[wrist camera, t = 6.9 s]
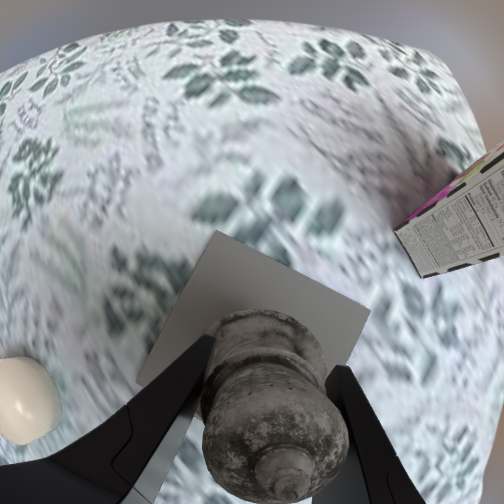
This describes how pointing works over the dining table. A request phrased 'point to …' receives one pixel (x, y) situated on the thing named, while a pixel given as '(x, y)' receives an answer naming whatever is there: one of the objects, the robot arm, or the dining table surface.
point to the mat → (253, 304)
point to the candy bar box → (459, 220)
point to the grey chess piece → (269, 410)
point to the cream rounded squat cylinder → (27, 400)
